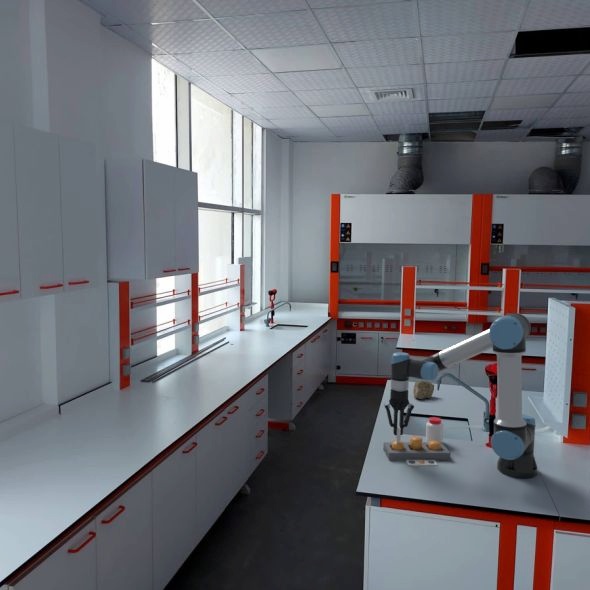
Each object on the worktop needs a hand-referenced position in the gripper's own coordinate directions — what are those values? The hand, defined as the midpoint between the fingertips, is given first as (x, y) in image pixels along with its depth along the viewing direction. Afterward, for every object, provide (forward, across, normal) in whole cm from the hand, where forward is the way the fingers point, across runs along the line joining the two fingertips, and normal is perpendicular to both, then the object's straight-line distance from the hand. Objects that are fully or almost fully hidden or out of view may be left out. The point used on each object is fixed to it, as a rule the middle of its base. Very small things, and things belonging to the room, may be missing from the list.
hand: (397, 442), depth 240 cm
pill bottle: (+6, -20, -14) cm, 25 cm away
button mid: (+3, -8, 0) cm, 9 cm away
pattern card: (+5, -8, +10) cm, 14 cm away
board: (+5, -8, 0) cm, 10 cm away
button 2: (+5, -16, 0) cm, 17 cm away
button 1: (+5, 0, 0) cm, 5 cm away
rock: (+6, -34, -84) cm, 91 cm away
